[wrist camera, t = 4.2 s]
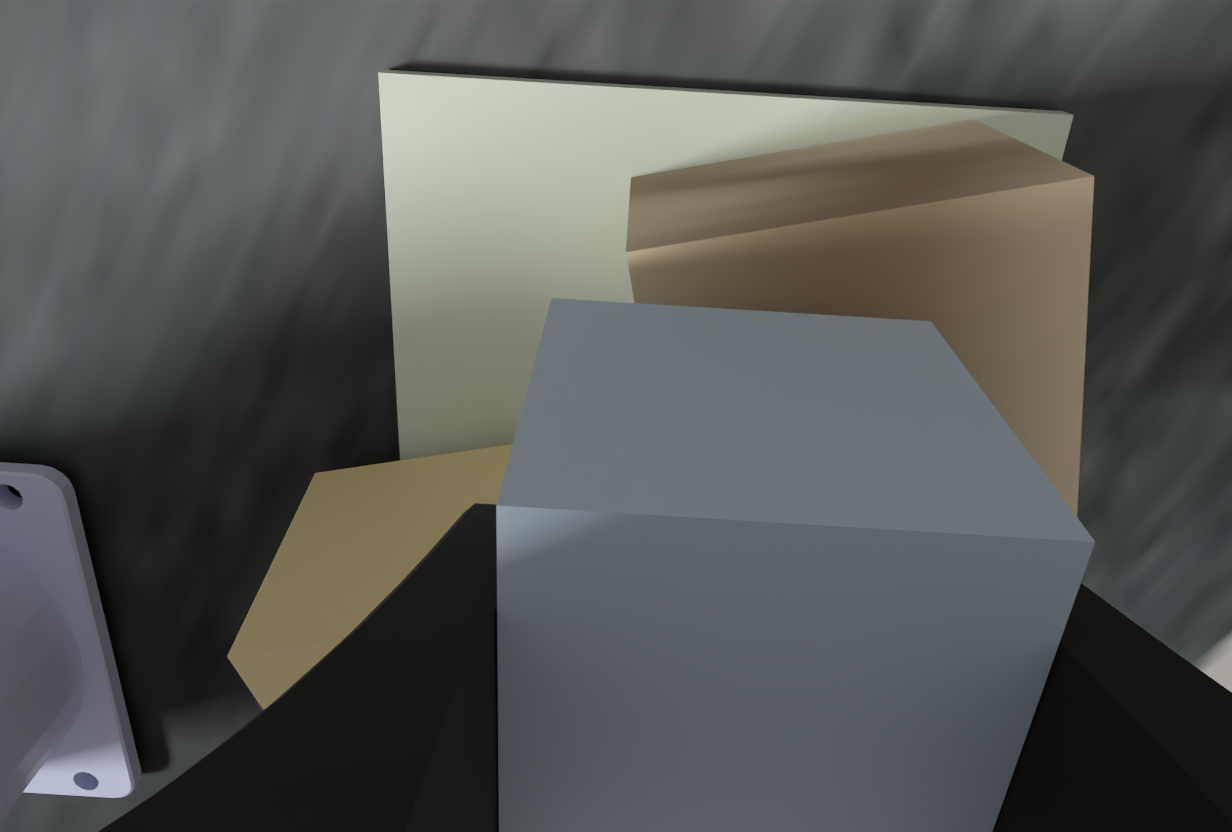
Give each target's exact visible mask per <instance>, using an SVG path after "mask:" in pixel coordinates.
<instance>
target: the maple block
mask: <svg viewBox="0 0 1232 832" xmlns="http://www.w3.org/2000/svg"><path fill="white" fill-rule="evenodd" d="M1093 192H1094V176H1093V175H1091V174H1089V173H1087V172H1085V171H1082V170H1080V169H1078V168H1076V167H1074V166H1072V165H1070V164H1068V163H1066V162H1063V161H1061V160H1059V159H1057V158H1055V157H1053V156H1051V155H1049V154H1046V153H1044V152H1042V151H1040V150H1038V149H1036V148H1034V147H1032V146H1029V145H1027V144H1025V143H1023V142H1021V141H1019V140H1017V139H1015V138H1012V137H1010V136H1008V135H1006V134H1004V133H1002V132H1000V131H998V130H995V129H993V128H991V127H989V126H987V125H985V124H983V123H981V122H978V121H976V120H974V119H970V120H964V121H958V122H952V123H946V124H940V125H934V126H929V127H923V128H917V129H911V130H905V131H899V132H894V133H888V134H882V135H876V136H870V137H864V138H858V139H853V140H847V141H841V142H835V143H829V144H823V145H817V146H812V147H806V148H800V149H794V150H788V151H782V152H777V153H771V154H765V155H759V156H753V157H747V158H741V159H736V160H730V161H724V162H718V163H712V164H706V165H700V166H695V167H689V168H683V169H677V170H671V171H665V172H660V173H654V174H648V175H642V176H636V177H631V183H630V198H629V213H628V227H627V242H626V256H627V262H628V268H629V274H630V279H631V285H632V291H633V297H634V302H635V303H640V304H656V305H673V306H689V307H706V308H722V309H739V310H755V311H772V312H788V313H805V314H821V315H838V316H854V317H871V318H887V319H904V320H920V321H931V322H932V323H933V325H934V326H935V327H936V329H937V330H938V331H939V333H940V334H941V335H942V337H943V338H944V339H945V341H946V342H947V343H948V345H949V346H950V347H951V349H952V350H953V351H954V353H955V354H956V355H957V357H958V358H959V359H960V361H961V362H962V364H963V365H964V366H965V368H966V369H967V370H968V372H969V373H970V374H971V376H972V377H973V378H974V380H975V381H976V382H977V384H978V385H979V386H980V388H981V389H982V390H983V392H984V393H985V394H986V396H987V397H988V398H989V400H990V401H991V402H992V404H993V405H994V407H995V408H996V409H997V411H998V412H999V413H1000V415H1001V416H1002V417H1003V419H1004V420H1005V421H1006V423H1007V424H1008V425H1009V427H1010V428H1011V429H1012V431H1013V432H1014V433H1015V435H1016V436H1017V437H1018V439H1019V440H1020V441H1021V443H1022V444H1023V445H1024V447H1025V448H1026V450H1027V451H1028V452H1029V454H1030V455H1031V456H1032V458H1033V459H1034V460H1035V462H1036V463H1037V464H1038V466H1039V467H1040V468H1041V470H1042V471H1043V472H1044V474H1045V475H1046V476H1047V478H1048V479H1049V480H1050V482H1051V483H1052V484H1053V486H1054V487H1055V488H1056V490H1057V491H1058V493H1059V494H1060V495H1061V497H1062V498H1063V499H1064V501H1065V502H1066V503H1067V505H1068V506H1069V507H1070V509H1071V510H1072V511H1073V513H1074V514H1075V515H1076V517H1077V509H1078V489H1079V470H1080V450H1081V430H1082V410H1083V390H1084V370H1085V350H1086V331H1087V311H1088V291H1089V271H1090V251H1091V231H1092V212H1093Z"/></svg>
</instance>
